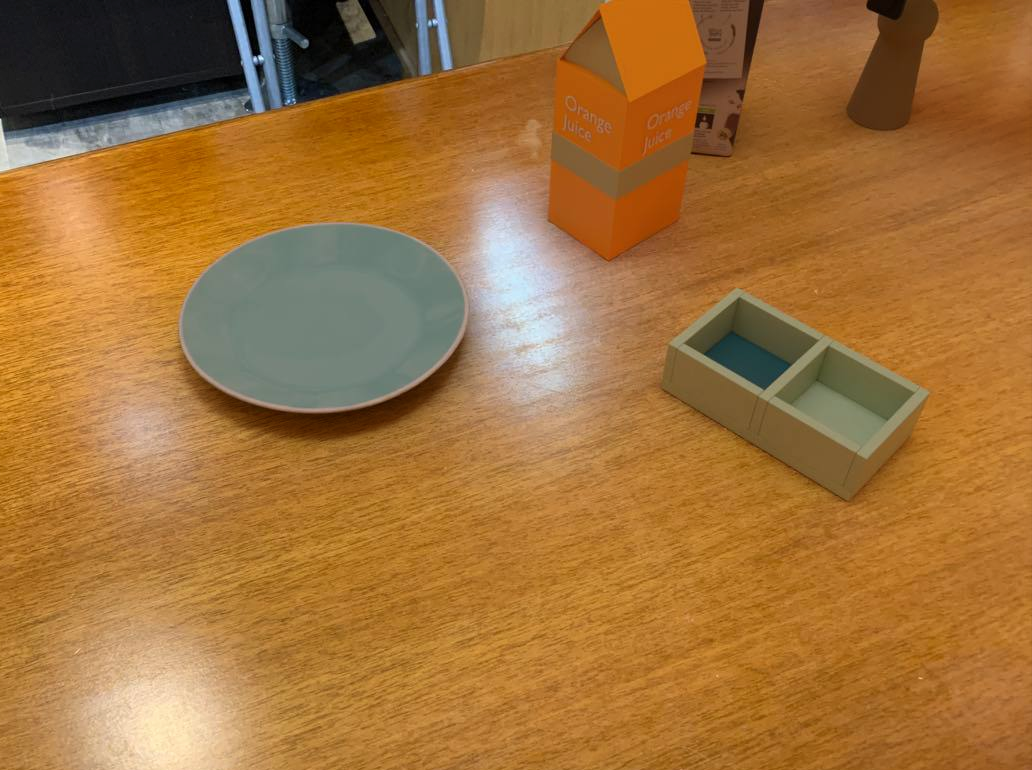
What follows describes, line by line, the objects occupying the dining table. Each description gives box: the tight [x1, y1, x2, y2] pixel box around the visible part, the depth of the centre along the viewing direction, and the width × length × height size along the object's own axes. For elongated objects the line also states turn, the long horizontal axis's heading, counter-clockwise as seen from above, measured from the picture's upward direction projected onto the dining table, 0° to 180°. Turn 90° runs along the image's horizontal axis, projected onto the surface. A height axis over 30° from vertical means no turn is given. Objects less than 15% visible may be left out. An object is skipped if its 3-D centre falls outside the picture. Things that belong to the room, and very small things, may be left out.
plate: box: [177, 221, 471, 414], centre depth 84 cm, size 22×22×3 cm
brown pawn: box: [845, 0, 940, 131], centre depth 101 cm, size 6×6×11 cm
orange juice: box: [547, 0, 707, 262], centre depth 87 cm, size 8×9×20 cm
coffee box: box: [689, 0, 765, 157], centre depth 97 cm, size 9×6×16 cm
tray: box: [660, 287, 931, 503], centre depth 79 cm, size 16×9×4 cm, turn 47°
